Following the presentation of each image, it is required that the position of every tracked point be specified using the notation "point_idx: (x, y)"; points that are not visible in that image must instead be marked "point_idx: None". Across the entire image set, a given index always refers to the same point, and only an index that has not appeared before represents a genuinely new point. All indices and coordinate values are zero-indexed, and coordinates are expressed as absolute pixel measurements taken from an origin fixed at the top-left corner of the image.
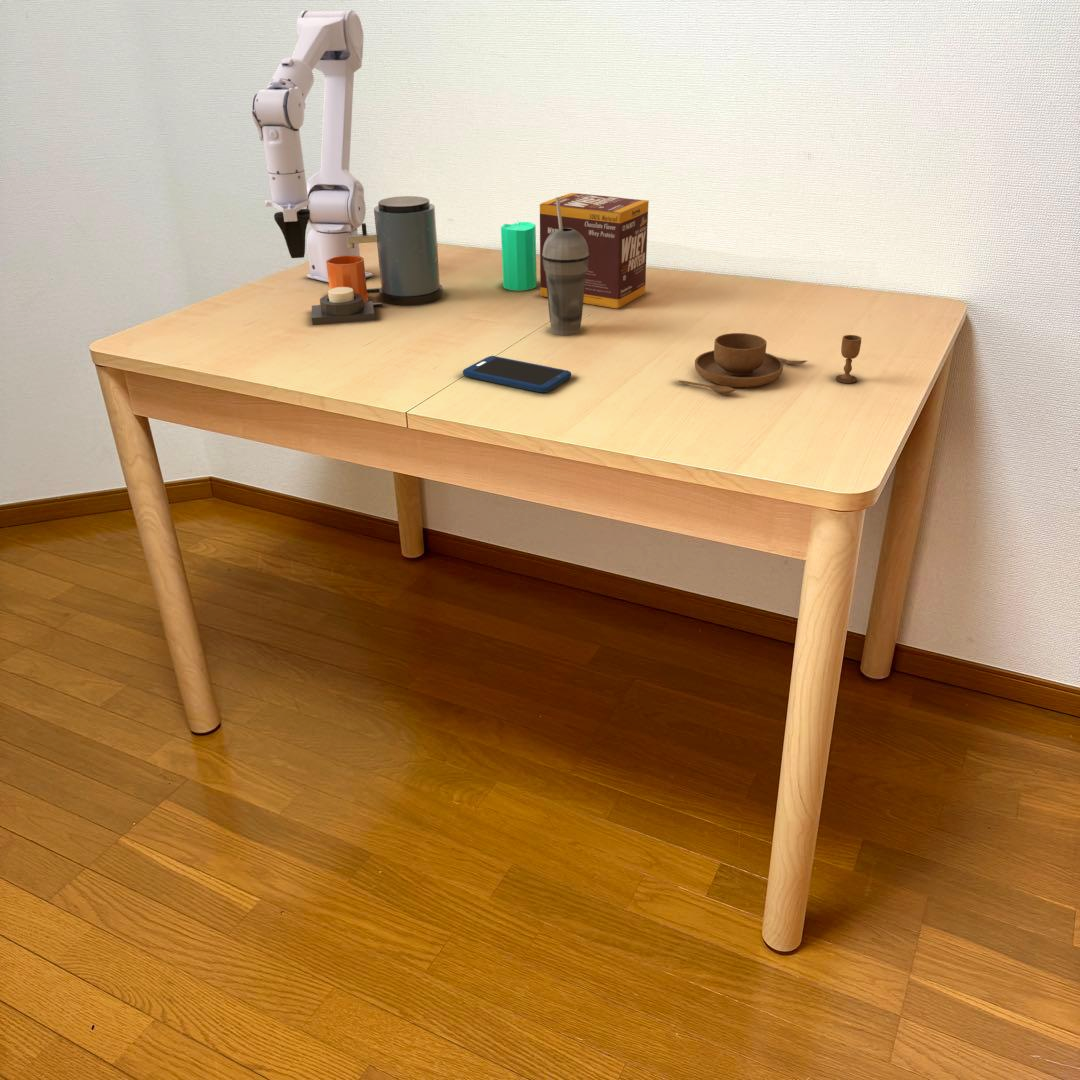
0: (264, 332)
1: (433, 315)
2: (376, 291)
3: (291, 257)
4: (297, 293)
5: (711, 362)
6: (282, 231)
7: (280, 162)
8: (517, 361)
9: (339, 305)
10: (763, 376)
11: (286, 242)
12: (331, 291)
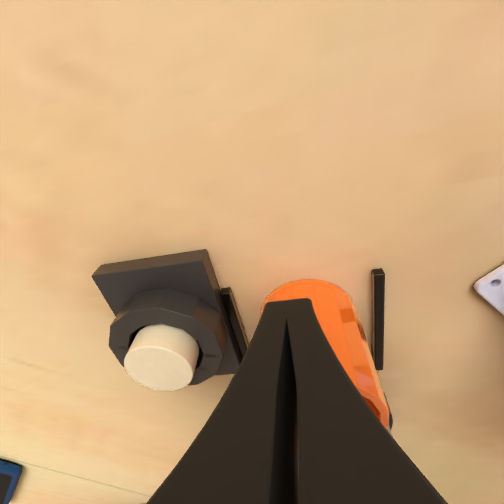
0: (4, 150)
1: (201, 429)
2: (373, 360)
3: (268, 303)
4: (436, 164)
5: None
6: (178, 463)
7: None
8: (10, 486)
9: (113, 350)
10: None
11: (237, 371)
12: (142, 354)
